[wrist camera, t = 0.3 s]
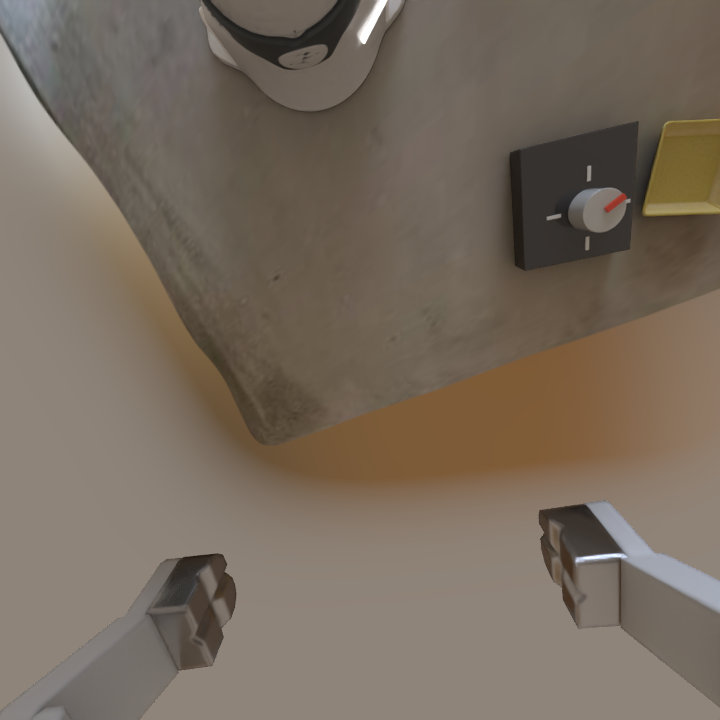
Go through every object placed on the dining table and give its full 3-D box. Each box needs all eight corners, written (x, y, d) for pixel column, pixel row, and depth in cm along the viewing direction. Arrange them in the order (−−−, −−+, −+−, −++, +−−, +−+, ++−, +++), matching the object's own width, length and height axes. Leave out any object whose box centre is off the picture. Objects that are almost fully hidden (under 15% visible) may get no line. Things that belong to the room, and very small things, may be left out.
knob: (579, 238, 39) (597, 241, 36) (560, 208, 38) (576, 209, 35) (615, 211, 38) (636, 212, 35) (596, 179, 37) (616, 177, 34)
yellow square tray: (628, 215, 41) (641, 216, 39) (650, 124, 38) (665, 120, 36) (709, 213, 41) (726, 214, 39) (739, 121, 37) (759, 117, 35)
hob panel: (509, 152, 39) (520, 149, 36) (619, 126, 38) (640, 120, 35) (515, 266, 44) (525, 271, 41) (613, 246, 42) (631, 249, 40)
